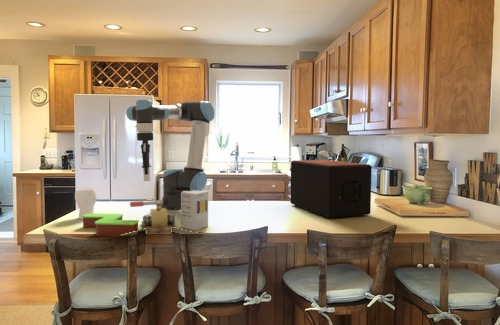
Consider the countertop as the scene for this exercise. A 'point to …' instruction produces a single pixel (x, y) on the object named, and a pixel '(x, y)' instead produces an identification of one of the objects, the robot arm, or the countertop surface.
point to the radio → (331, 187)
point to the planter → (109, 224)
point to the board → (158, 229)
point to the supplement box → (194, 209)
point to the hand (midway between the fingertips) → (146, 180)
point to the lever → (145, 203)
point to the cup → (85, 200)
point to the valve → (158, 217)
